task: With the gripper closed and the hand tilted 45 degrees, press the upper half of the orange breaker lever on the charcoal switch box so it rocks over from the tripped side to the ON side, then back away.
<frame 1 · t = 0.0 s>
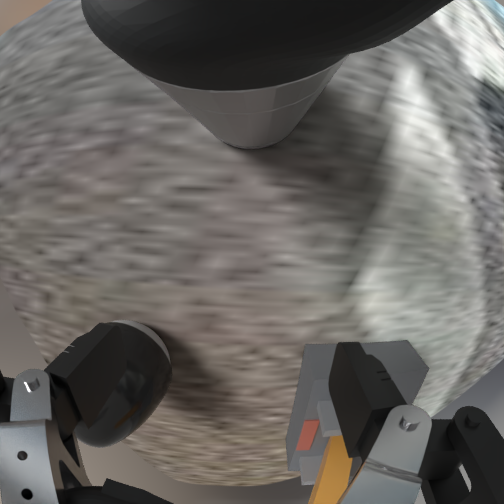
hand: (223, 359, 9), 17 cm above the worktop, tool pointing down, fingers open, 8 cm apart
breaker lever: (331, 477, 19), point 12 cm above the worktop, hinge at -20.0°
switch box: (343, 398, 31), on the worktop
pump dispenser: (139, 343, 30), on the worktop
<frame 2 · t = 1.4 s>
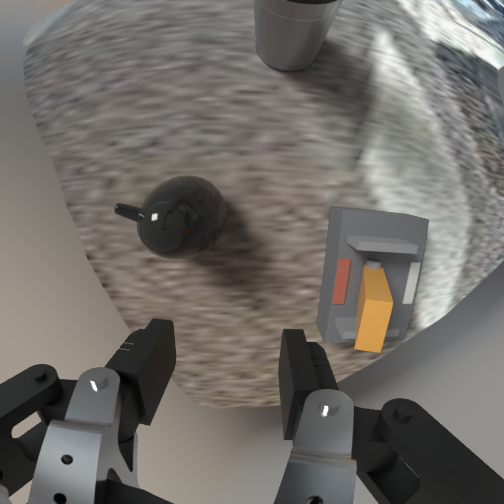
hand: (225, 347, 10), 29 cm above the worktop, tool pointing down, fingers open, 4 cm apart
breaker lever: (371, 301, 28), point 12 cm above the worktop, hinge at -20.0°
switch box: (364, 269, 40), on the worktop
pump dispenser: (193, 212, 38), on the worktop
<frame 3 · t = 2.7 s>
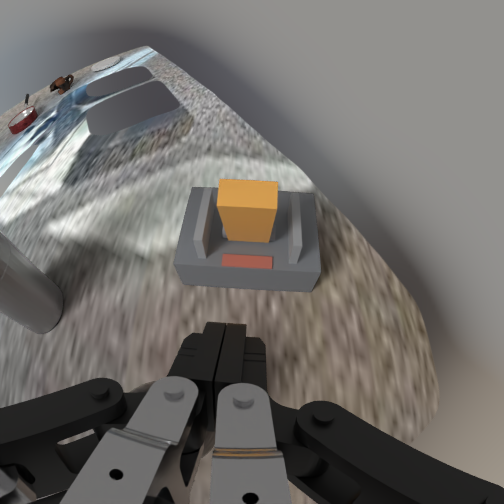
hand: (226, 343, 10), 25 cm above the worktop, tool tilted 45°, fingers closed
frying pan: (25, 117, 74), on the worktop
plastic lid: (106, 66, 93), on the worktop
breaker lever: (248, 217, 29), point 12 cm above the worktop, hinge at -20.0°
brown arched piece: (64, 90, 83), on the worktop
switch box: (249, 248, 42), on the worktop
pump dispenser: (180, 422, 29), on the worktop
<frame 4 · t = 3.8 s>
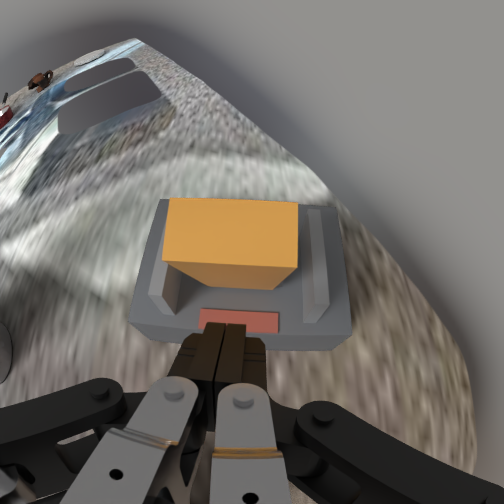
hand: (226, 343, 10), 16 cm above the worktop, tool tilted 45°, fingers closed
frying pan: (2, 117, 61), on the worktop
plastic lid: (89, 60, 80), on the worktop
breaker lever: (238, 260, 16), point 12 cm above the worktop, hinge at -20.0°
brown arched piece: (43, 88, 69), on the worktop
switch box: (243, 287, 29), on the worktop
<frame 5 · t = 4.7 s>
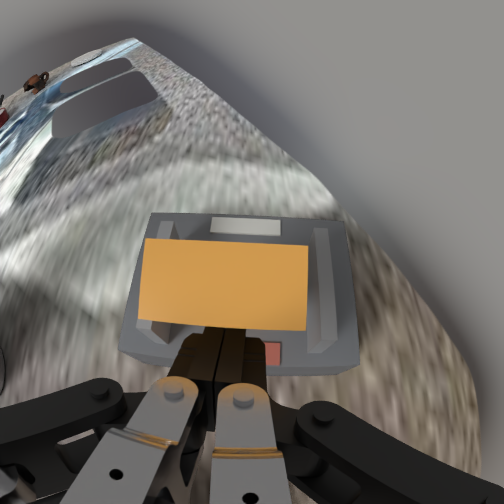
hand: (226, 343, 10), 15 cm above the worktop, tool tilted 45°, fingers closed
plastic lid: (87, 61, 78), on the worktop
breaker lever: (234, 294, 14), point 12 cm above the worktop, hinge at -19.9°, touching gripper
brown arched piece: (39, 90, 67), on the worktop
switch box: (242, 307, 27), on the worktop
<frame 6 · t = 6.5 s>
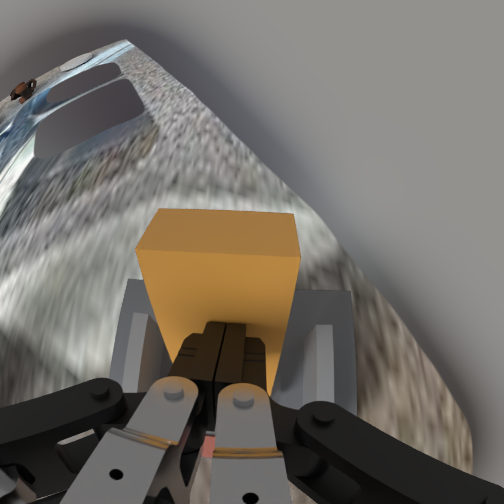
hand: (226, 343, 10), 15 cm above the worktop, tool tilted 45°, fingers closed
plastic lid: (77, 65, 74), on the worktop
breaker lever: (225, 340, 13), point 12 cm above the worktop, hinge at 20.8°, touching gripper
brown arched piece: (26, 98, 62), on the worktop
switch box: (234, 379, 23), on the worktop
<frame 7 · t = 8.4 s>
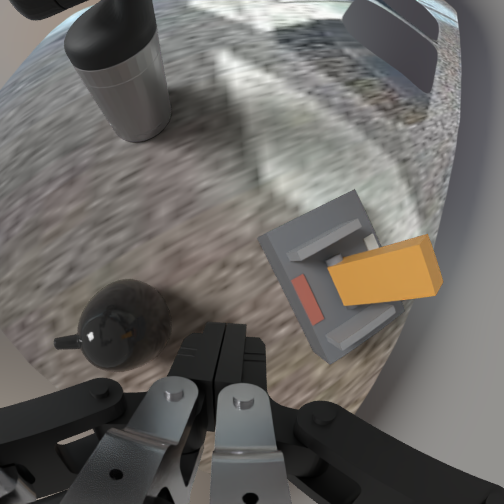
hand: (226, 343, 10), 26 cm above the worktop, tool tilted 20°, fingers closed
breaker lever: (379, 275, 26), point 12 cm above the worktop, hinge at 21.0°
switch box: (326, 275, 38), on the worktop
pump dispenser: (137, 315, 34), on the worktop
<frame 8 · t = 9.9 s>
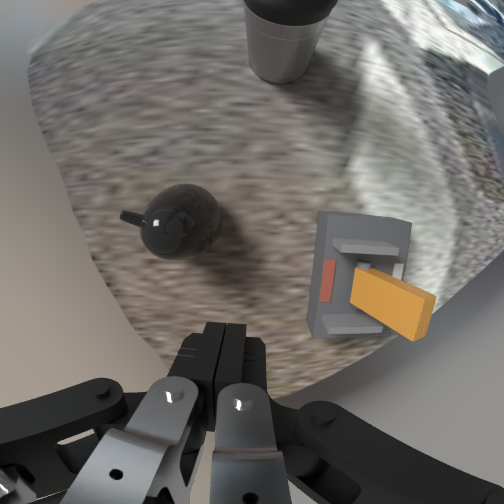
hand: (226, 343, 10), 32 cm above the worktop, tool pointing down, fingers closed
breaker lever: (387, 299, 31), point 12 cm above the worktop, hinge at 21.0°
switch box: (351, 270, 43), on the worktop
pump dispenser: (191, 217, 42), on the worktop
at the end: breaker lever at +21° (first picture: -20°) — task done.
